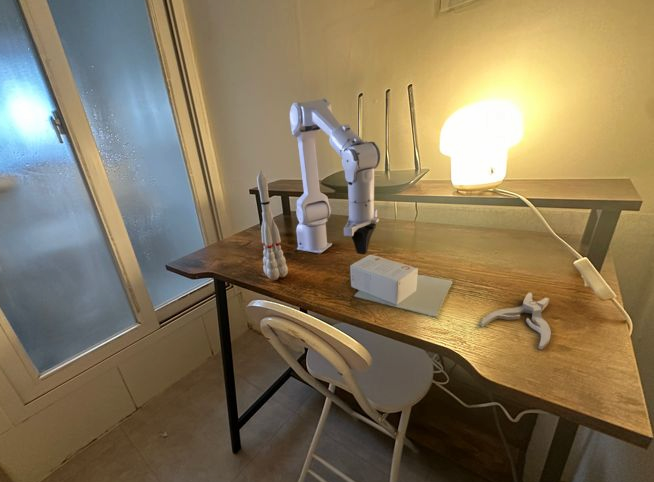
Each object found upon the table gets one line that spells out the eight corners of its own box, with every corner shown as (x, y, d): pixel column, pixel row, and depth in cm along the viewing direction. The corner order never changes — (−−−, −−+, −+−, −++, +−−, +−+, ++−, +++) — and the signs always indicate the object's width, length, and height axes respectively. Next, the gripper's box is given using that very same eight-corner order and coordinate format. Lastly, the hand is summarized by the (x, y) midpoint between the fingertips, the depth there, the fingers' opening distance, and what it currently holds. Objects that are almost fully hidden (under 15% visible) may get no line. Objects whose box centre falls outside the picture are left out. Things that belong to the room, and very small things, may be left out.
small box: (350, 287, 76) (396, 306, 67) (349, 264, 74) (397, 281, 64) (370, 275, 80) (416, 291, 71) (370, 253, 78) (418, 267, 68)
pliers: (480, 318, 58) (510, 287, 65) (478, 325, 58) (509, 293, 66) (545, 342, 50) (571, 304, 58) (543, 350, 51) (569, 310, 59)
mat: (354, 296, 73) (354, 295, 73) (379, 268, 84) (379, 267, 83) (435, 317, 62) (435, 316, 62) (452, 281, 73) (452, 280, 73)
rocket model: (292, 271, 89) (279, 166, 76) (284, 284, 83) (268, 172, 70) (269, 270, 91) (253, 168, 78) (260, 282, 85) (240, 174, 72)
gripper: (364, 210, 62) (365, 268, 68) (389, 192, 72) (388, 244, 78) (334, 207, 67) (337, 262, 72) (361, 191, 76) (362, 240, 82)
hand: (361, 252), depth 76 cm, fingers closed
